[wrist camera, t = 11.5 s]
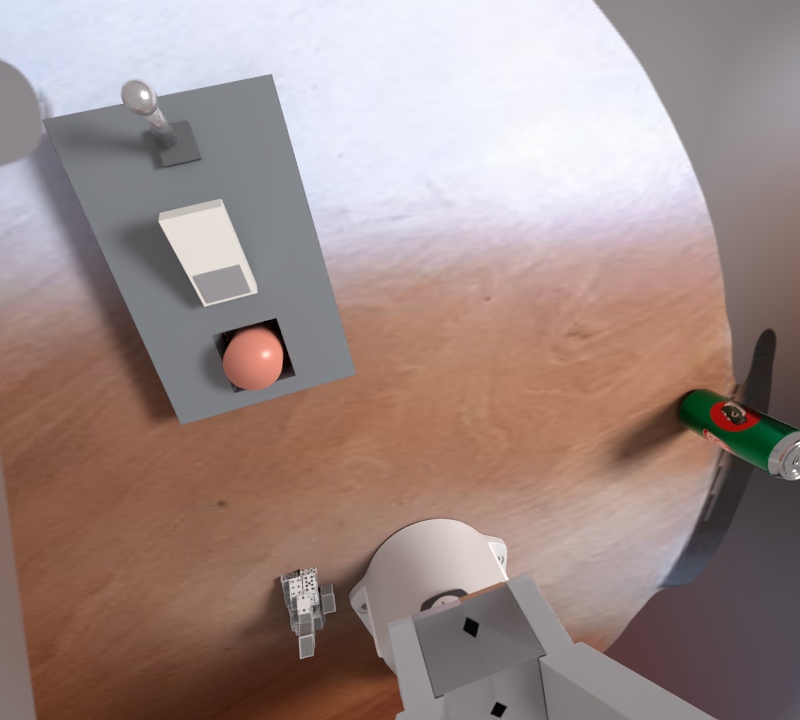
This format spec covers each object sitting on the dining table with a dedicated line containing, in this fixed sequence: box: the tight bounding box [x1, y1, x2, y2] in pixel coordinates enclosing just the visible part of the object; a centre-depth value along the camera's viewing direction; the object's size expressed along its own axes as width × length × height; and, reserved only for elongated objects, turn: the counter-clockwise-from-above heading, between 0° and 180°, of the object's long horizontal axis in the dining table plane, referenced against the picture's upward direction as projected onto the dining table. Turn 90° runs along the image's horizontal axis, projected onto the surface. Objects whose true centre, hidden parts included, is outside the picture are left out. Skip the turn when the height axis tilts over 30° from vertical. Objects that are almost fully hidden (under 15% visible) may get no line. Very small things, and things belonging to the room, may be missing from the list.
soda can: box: [679, 389, 800, 480], centre depth 47 cm, size 5×5×12 cm
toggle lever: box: [121, 79, 179, 147], centre depth 27 cm, size 2×2×6 cm
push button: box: [223, 323, 284, 390], centre depth 37 cm, size 4×4×4 cm
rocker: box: [158, 199, 258, 307], centre depth 32 cm, size 7×4×1 cm, turn 13°
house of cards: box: [281, 567, 336, 659], centre depth 47 cm, size 9×9×8 cm
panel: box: [42, 74, 356, 425], centre depth 35 cm, size 23×15×4 cm, turn 13°
